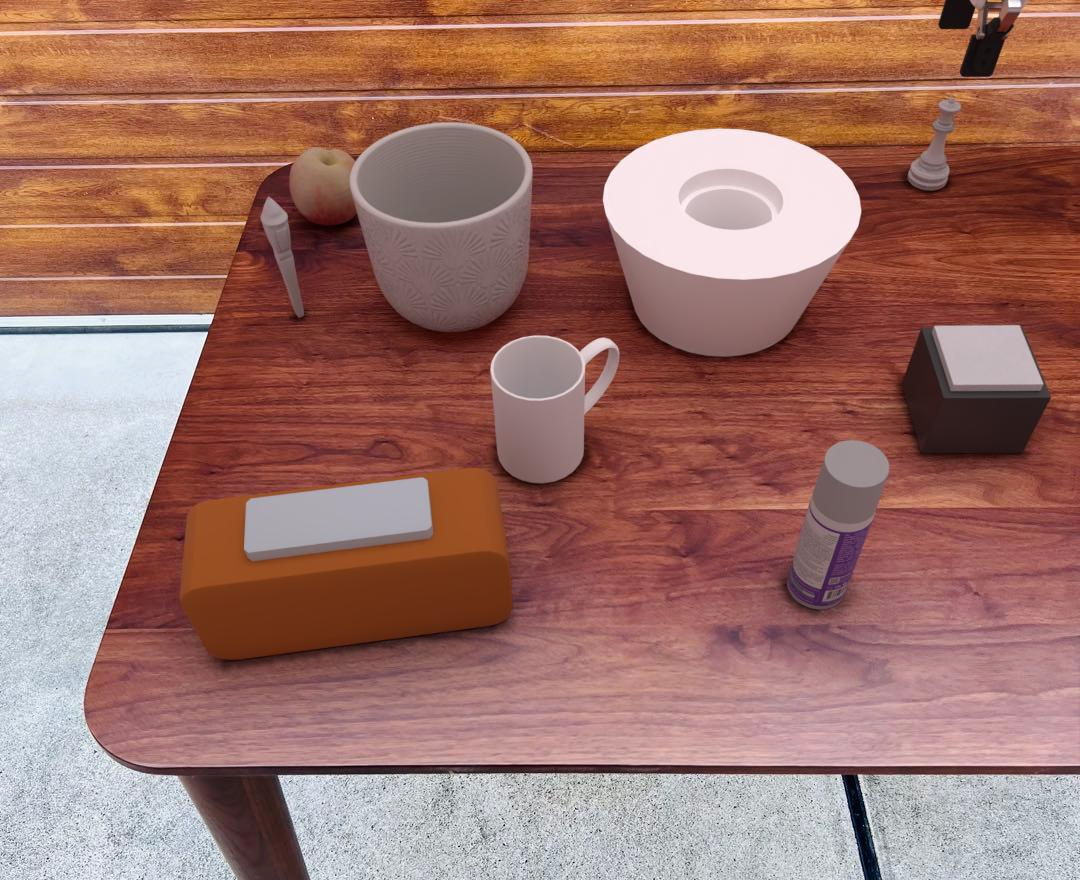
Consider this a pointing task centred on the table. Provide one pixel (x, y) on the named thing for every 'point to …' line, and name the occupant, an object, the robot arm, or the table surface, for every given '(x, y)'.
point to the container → (837, 523)
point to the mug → (544, 404)
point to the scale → (974, 389)
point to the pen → (282, 249)
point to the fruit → (323, 186)
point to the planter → (446, 222)
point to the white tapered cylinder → (727, 235)
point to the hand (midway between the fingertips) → (963, 51)
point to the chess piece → (935, 151)
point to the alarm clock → (346, 564)
